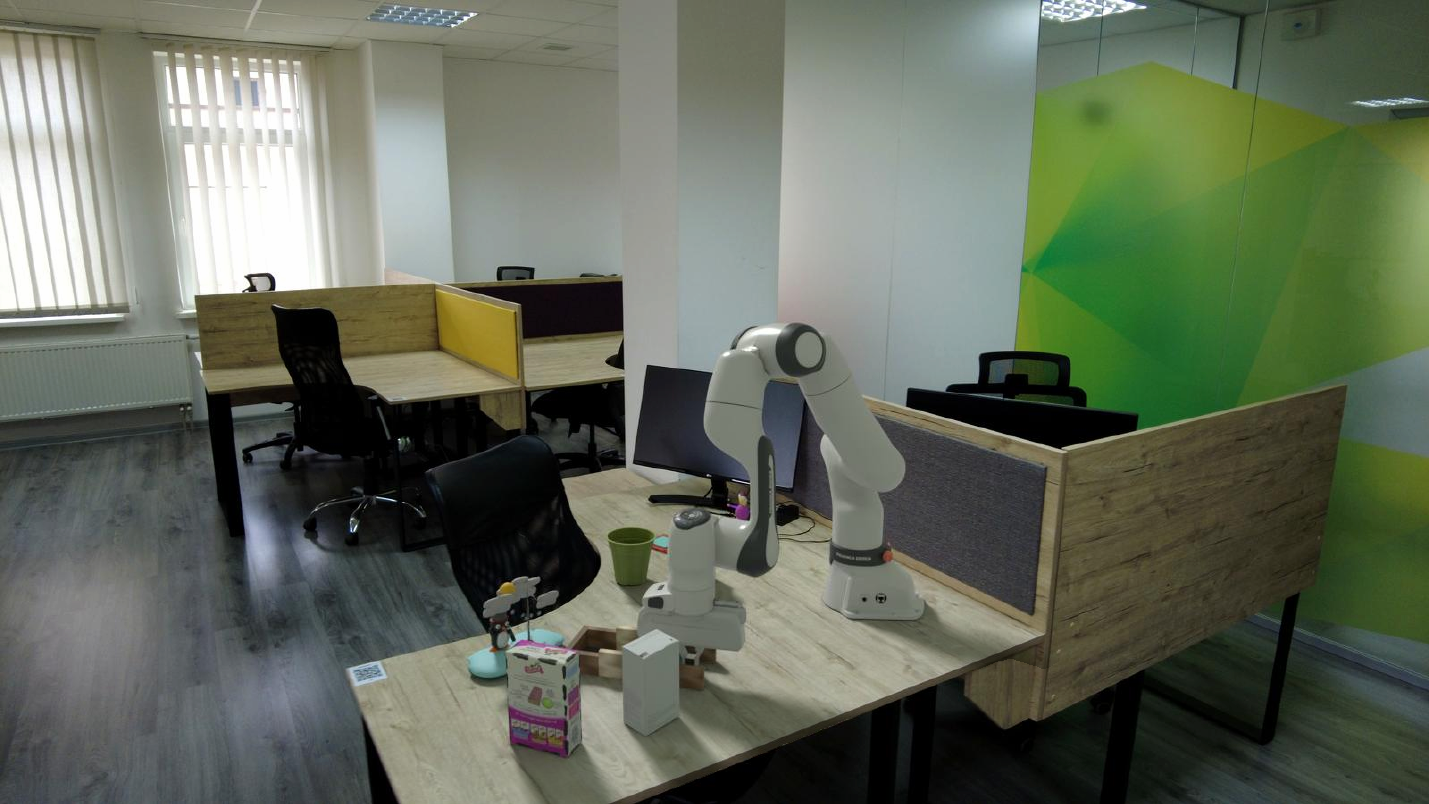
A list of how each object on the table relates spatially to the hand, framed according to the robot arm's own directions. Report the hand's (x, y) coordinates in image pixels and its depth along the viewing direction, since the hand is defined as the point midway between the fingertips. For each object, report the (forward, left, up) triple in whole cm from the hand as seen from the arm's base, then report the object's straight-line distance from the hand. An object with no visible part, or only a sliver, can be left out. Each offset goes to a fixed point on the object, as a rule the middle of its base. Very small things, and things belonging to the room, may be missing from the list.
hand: (690, 664), depth 160 cm
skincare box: (+2, +17, -2) cm, 17 cm away
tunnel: (+10, 0, -2) cm, 10 cm away
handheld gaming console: (+20, -59, -2) cm, 63 cm away
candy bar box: (+17, +27, -2) cm, 32 cm away
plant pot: (+24, -37, -2) cm, 44 cm away
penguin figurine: (+34, +3, -2) cm, 35 cm away
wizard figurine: (+5, -74, -2) cm, 74 cm away
